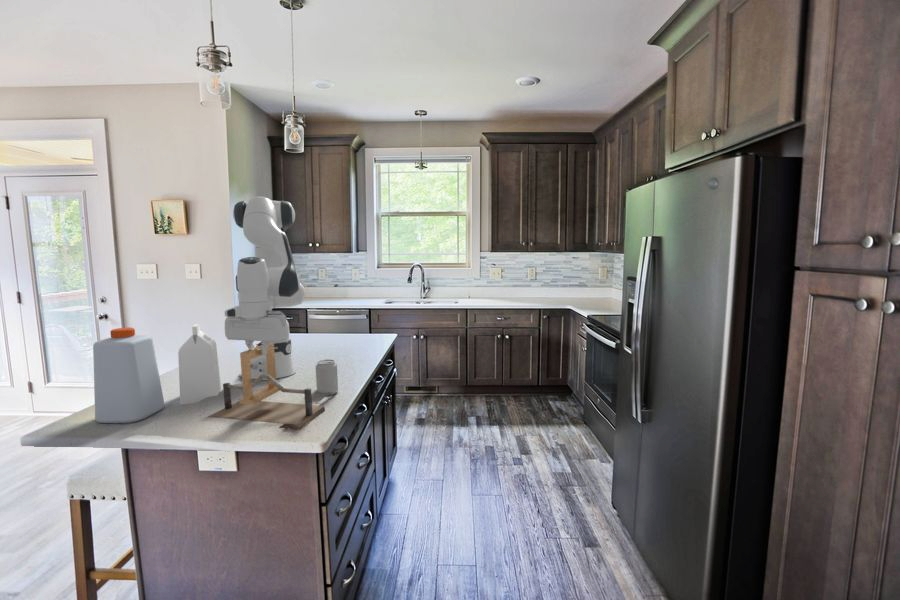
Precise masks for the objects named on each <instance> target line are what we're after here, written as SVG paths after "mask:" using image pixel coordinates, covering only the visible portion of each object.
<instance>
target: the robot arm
mask: <svg viewBox="0 0 900 600" xmlns="http://www.w3.org/2000/svg"><path fill="white" fill-rule="evenodd" d="M232 217H233V220H234V222H235V224H236V225H237V227H239V228H240V229H242V230H243V235H244V237H245V238H246V239H247V241H248V242H249V243H250V244H252V245H254V252H255V253H254V254H255V256H248V257H242V258H241V259H239V260H238V262H237V267H236V268H237V270H236V276H235V288H236V291H237V292H238V293H237V300H238V305H236V306H234V307H231V308H228V309H226V310H224V317H226V318H225V319H224V335H225V337H226V338H227V340H229V341H231V340H232V341H245V342H244V343H245V345H246V347H247V349H248V350H250V349H253V348H256V347H259V346H261V345H263V346H262V349H259V355H261V356H259V357H256V358H253V359H251V360H250V364H251V378H252V380H256V379H257V378H259V377H260V376H261V375H267V361H266V354H267V347H268V345H269V343H274V352H275V368H276V379H281V378H285V377H289V376H292V375H294V374H295V373H296V371H297V370H296V367H295V366H294V361H293V355H292V340H291V338H290V324H289V321H288V320H287V315H286V314H285V313H284V312H282V311H281V310H273V309H278V308H279V309H281V308H289V307H290V308H292V307H295V306H298V305H302V304H303V302H304V301H305V300H306V296H307V295H306V294H307V293H306V289H305V287H304V285H303V284H302V283H301V281H300V280H301V279H300V276H299V274H298V270H297V268H296V265H295V261H294V257H293V253H292V249H291V246H290V242H289V239H288V236H287V234H286V232H287V229H290V228H291V227H292V226H294V222H295V221H296V212H295V209H294V207H293V205H292V204H291V202H289V201H286V200H272V199H269V198H268V197H265V196H261V195H259V196H254V197H252V198H250V199H249V200H248V201H246V200H241V201H238V202H236V203H235V204H234V206H233V210H232ZM282 229H283V231H282ZM257 341H258V342H259V343H256V344H255V345H254V344H253V343H254V342H257ZM238 377H241V378H242V372H241V371H240V372H239V373H238ZM261 381H268V379H264V378H263V379H262V380H261Z"/></svg>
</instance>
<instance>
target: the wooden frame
mask: <svg viewBox="0 0 900 600" xmlns="http://www.w3.org/2000/svg"><path fill="white" fill-rule="evenodd" d="M262 346H263V345H261V346H258V347H256V346H255V348H253V349H250V350H249V349H248V350H244V351H242V352H239V357H240V370H241V371H240V373H241V372H242V377H241V381H242V383H241V385H243V389H242V396H243V397H242V398H239V400H238V401H239V403H243V404H256V403H258V402H259V401H264V400H265V399H266V398H267V399H268V398H269V397H271V396H272V395H274V394H276V393H278V392H281V391H280V390H279V389H278V388H277V387H276V386H275V385H274V384H273V383H272V382H270V381H269V380H267V385H266V386H264V387H262V388H259V389H257V390H255V391H254V392H253V388H252V383H253V381H252V380H253V379H252V378H251V364H250V360H251V359H253V358H256V357H259V356H261V355H259V349H262ZM266 361H267V375H270V376H271V377H272V378H273V379H274V380H276V381H277V378H276V368H275V352H274V343H269V345H268V347H267V354H266Z"/></svg>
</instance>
